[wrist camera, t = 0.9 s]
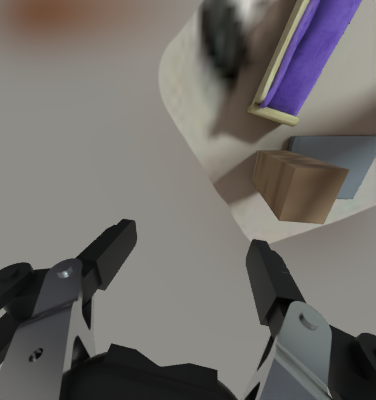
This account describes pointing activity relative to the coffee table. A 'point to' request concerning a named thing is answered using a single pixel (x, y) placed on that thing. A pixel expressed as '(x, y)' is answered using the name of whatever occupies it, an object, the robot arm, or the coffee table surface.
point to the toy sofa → (301, 57)
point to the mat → (339, 156)
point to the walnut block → (297, 185)
